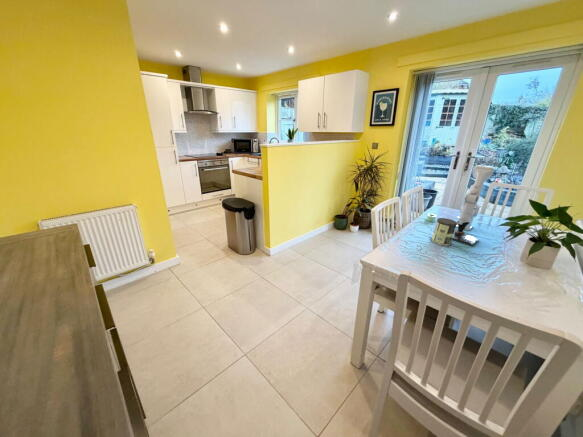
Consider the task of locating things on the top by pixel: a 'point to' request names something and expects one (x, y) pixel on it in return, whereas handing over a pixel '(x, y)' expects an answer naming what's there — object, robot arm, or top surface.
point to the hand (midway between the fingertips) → (460, 231)
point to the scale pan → (468, 237)
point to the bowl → (431, 217)
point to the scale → (458, 238)
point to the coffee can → (444, 231)
